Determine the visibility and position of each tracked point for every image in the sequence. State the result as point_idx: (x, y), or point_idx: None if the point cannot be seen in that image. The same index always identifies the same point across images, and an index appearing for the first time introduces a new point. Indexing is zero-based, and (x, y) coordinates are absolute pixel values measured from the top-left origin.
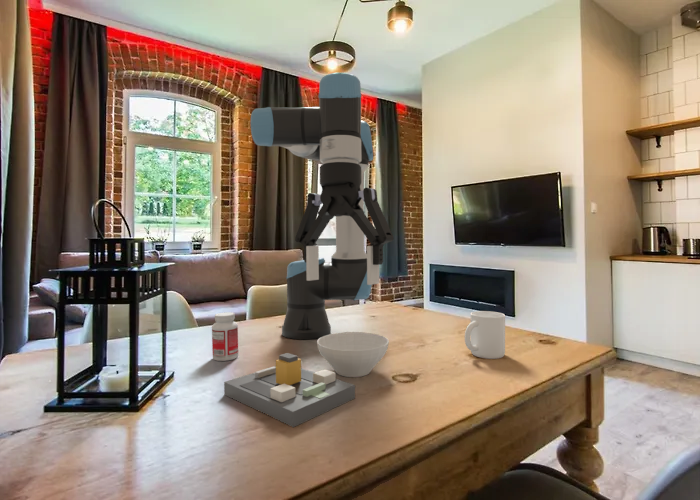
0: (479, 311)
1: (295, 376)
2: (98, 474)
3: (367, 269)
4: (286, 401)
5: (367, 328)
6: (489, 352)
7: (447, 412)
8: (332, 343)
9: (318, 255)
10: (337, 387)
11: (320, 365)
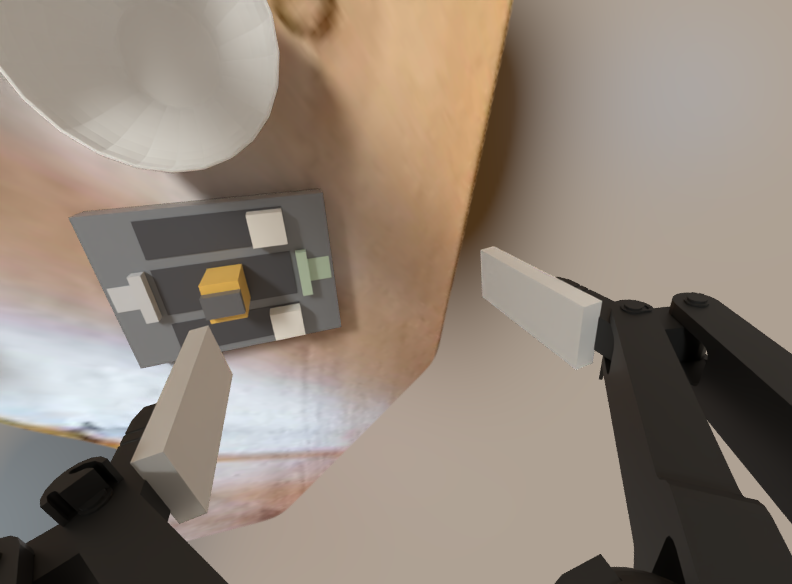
0: None
1: (244, 281)
2: (295, 472)
3: (512, 318)
4: (304, 319)
5: None
6: None
7: (462, 118)
8: (9, 22)
9: (180, 401)
10: (310, 226)
11: None
